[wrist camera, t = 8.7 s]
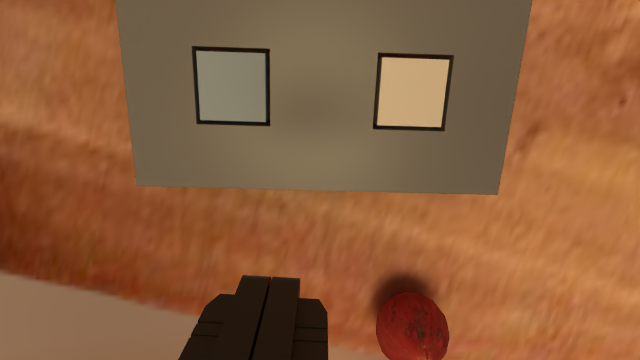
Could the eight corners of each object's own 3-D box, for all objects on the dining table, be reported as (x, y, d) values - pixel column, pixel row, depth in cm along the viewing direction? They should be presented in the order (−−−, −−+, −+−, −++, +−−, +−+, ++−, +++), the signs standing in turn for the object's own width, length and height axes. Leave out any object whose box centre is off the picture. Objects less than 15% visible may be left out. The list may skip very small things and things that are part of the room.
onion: (373, 273, 32) (392, 334, 25) (436, 276, 33) (474, 338, 25) (366, 327, 34) (382, 401, 26) (427, 330, 34) (460, 404, 27)
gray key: (269, 55, 25) (265, 53, 23) (269, 117, 27) (265, 121, 24) (206, 53, 25) (196, 50, 23) (210, 116, 27) (200, 120, 24)
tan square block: (437, 61, 26) (449, 59, 23) (430, 122, 27) (440, 127, 25) (376, 59, 26) (382, 57, 23) (371, 121, 27) (377, 125, 25)
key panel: (503, -6, 26) (535, -19, 22) (474, 179, 30) (497, 194, 26) (141, -20, 25) (111, -37, 22) (159, 171, 29) (136, 185, 26)
